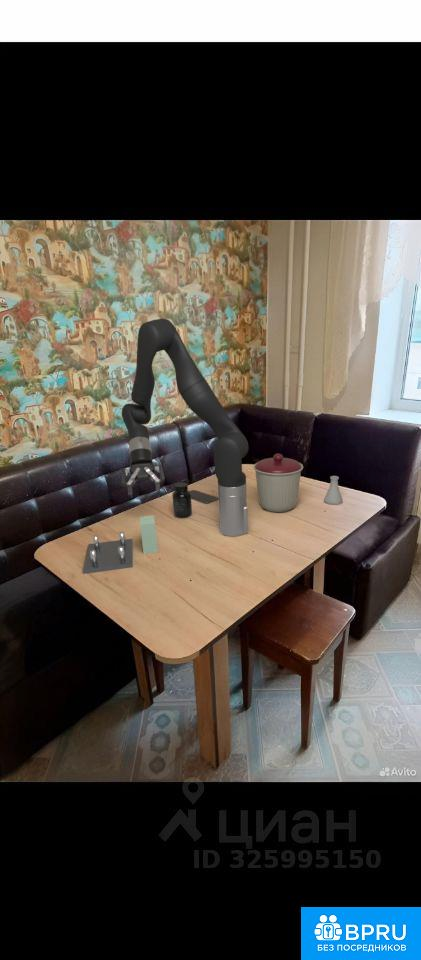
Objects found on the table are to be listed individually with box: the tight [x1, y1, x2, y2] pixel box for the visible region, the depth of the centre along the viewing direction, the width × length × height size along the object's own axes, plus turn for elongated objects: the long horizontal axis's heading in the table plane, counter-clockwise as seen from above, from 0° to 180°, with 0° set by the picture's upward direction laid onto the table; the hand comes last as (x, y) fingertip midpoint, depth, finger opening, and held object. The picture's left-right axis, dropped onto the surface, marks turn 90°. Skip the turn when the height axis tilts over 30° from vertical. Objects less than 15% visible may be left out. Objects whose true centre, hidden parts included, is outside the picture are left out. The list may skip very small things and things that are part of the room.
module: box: [139, 515, 159, 555], centre depth 127 cm, size 4×6×10 cm
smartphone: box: [189, 489, 219, 505], centre depth 168 cm, size 7×1×16 cm
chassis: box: [82, 531, 134, 575], centre depth 124 cm, size 14×16×5 cm
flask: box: [323, 475, 343, 505], centre depth 156 cm, size 7×7×10 cm
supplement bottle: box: [171, 482, 193, 519], centre depth 150 cm, size 7×7×12 cm
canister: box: [252, 453, 304, 513], centre depth 151 cm, size 18×18×21 cm
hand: (144, 495), depth 134 cm, fingers open, 8 cm apart
